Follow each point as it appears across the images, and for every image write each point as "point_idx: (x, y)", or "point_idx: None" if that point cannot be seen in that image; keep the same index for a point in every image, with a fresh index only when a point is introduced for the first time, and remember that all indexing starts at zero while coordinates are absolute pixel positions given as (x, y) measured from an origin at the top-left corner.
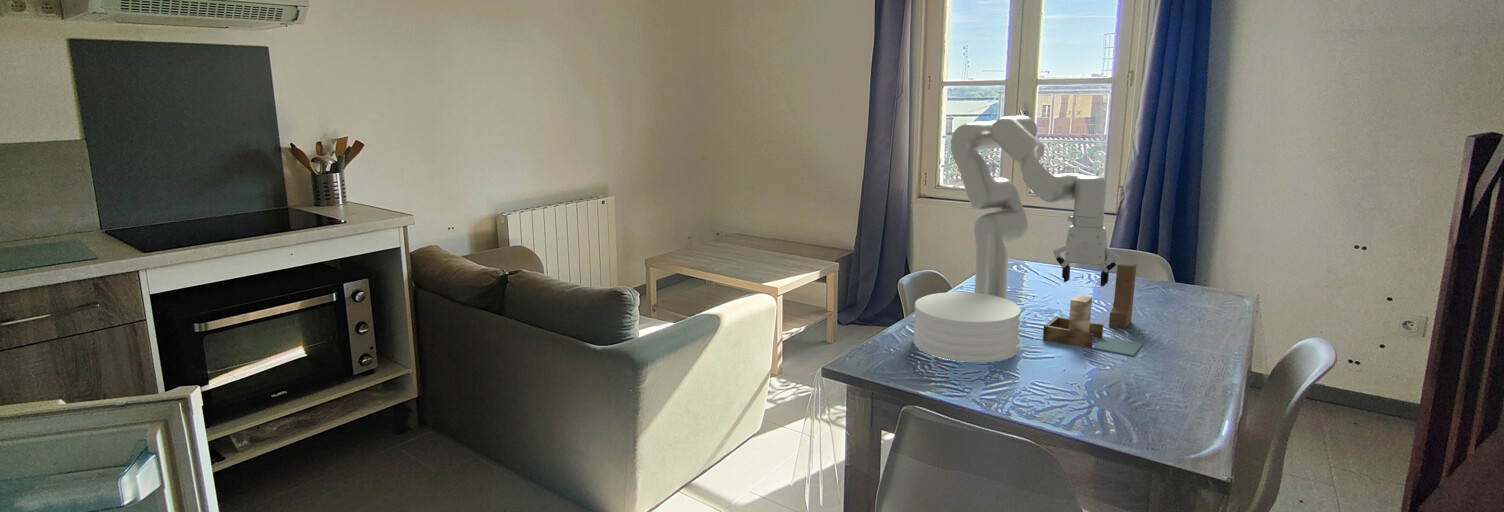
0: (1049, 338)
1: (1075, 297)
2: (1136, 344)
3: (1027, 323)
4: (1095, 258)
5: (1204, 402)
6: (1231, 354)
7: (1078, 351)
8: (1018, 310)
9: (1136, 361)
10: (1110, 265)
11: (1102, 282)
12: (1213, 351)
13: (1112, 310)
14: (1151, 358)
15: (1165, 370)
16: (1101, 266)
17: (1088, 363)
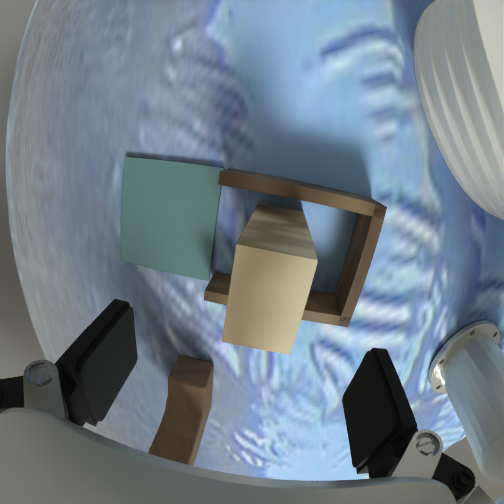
0: (355, 195)
1: (296, 317)
2: (130, 247)
3: (404, 322)
4: (27, 485)
5: (48, 10)
6: (21, 264)
7: (262, 127)
8: (491, 55)
9: (119, 125)
10: (3, 399)
11: (106, 312)
12: (36, 269)
13: (201, 396)
14: (95, 167)
15: (72, 104)
16: (52, 411)
17: (225, 45)
